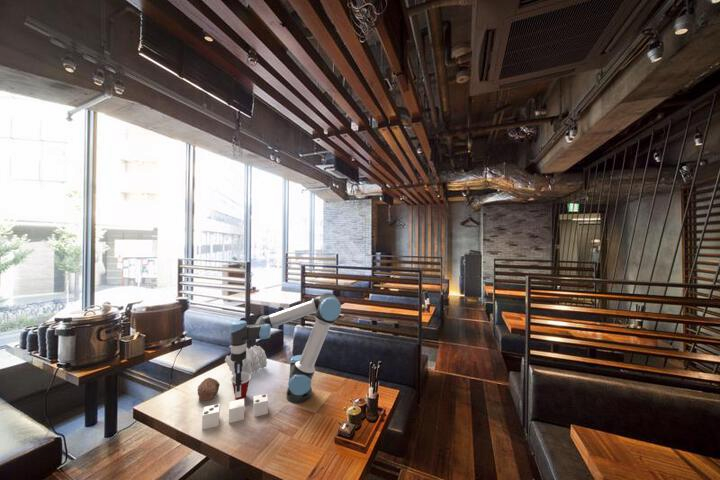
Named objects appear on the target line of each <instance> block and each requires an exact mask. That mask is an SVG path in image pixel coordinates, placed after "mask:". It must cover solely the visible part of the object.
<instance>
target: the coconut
mask: <svg viewBox="0 0 720 480" xmlns="http://www.w3.org/2000/svg"><path fill="white" fill-rule="evenodd" d="M219 389H220V382H219V381H218V380H217V379H215V378H212V377H207V378H204V380H202V382H201V383H200V384H199V385H198V386H197V396H198V400H199V401H200V400H201V401H204V402H205V401H209V400H212V399H215V398H216V396H217V395H218V393H219Z"/></svg>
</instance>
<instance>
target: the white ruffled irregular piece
mask: <svg viewBox="0 0 720 480" xmlns="http://www.w3.org/2000/svg"><path fill="white" fill-rule="evenodd" d="M267 358H268V357H267V355H266V351H265V350H264V349H263V348H262V347H261V346H260V345H258V346H257V345H256V344H255V345H253V346H250V348H249V347H247V349H246V358H245V359H244V360H242V361H243V366H242V372H241V373H248V374H250V375H251V373H253V372H254V373H257V372H258V371H260V369H261V370H263V369H264V368H267V364H268V361H267ZM224 362H225V364H227V366H228V369H229V371H230V372H231V375H232V377H233V376H234V375H236V373H235V368H234V362H233V361H231V354H229V355H226V356H225V359H224Z"/></svg>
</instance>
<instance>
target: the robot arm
mask: <svg viewBox="0 0 720 480" xmlns="http://www.w3.org/2000/svg"><path fill="white" fill-rule="evenodd" d="M341 311H342V305H341V302H340V300H339V299H338V298H337V296H336V295H335V294H333V293H332V292H327V293H326V292H325V293H323V294H320V295H317V296H315V297H314V296H313V297H312V298H311V300H308V301H304V302H302V303H299V304H297V305H294V306H291V307H287V308H285V309H282V310H279V311H276V312H275V313H270V314H268V315H261V316H259V317H258V318H257V319H256V321H255V323H254V324H248V322H247V321H246V320H235V321H233V322H232V323H231V327H230V346H229V347H228V348H229V349H230V355H231V361H233V362H234V368H235V373H236V382H235V383H236V384H234V386H235V395H234V398H237V397H241V382H242V380H241V372H242V366H243V361H242V360H244V359H245V358H246V349H247V348H248V347H247V345H248V344H247V342H248V341H249V340H250V341H251V340H252V341H253V340H265V339H270V337H271V334H272V333H271V332H272V331H271V330H272V329H273V328H275V327H278V326H281V325H285V324H286V323H289V322H292V321H295V320H297V319H300V318H303V317H307V316H308V315H312V314H314V318H315V322H314V324H313V327H312V329H311V332H310V334H309V337H308V338H307V342H306V343H305V346H304V348H303V350H302V353H301V354H298V355H293V356H292V357H291V358H290V360H289V376H288V377H289V378H288V382H287V385H288V387H287V390H286V395H285V396H286V399H287V400H288V402H290V403H295V404H297V403H299V404H300V403H305V402H306V401H308V400H310V399H311V398H312V397H313V387H312V379H313V377H314V374H315V372H316V367H315V364H316V363H317V362H316V361H317V360H318V357H319V354H320V352H321V350H322V347H323V344H324V343H325V340H326V337H327V334H328V332H329V330H330V327H331V326H332V325H334V324H335V322H336V320H337V319H338V317H339V316H341Z"/></svg>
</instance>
